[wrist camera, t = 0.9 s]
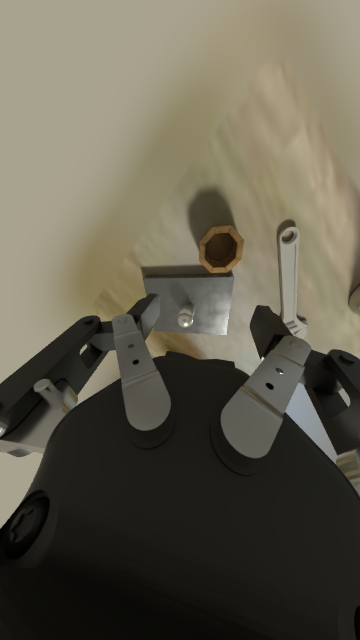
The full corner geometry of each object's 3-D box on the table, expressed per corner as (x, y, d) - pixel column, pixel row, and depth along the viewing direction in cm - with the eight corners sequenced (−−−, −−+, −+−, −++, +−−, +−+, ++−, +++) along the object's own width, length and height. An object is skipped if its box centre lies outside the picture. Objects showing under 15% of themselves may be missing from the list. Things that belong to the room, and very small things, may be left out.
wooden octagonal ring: (240, 223, 24) (246, 224, 20) (235, 264, 27) (239, 272, 23) (201, 226, 25) (199, 228, 21) (200, 265, 28) (199, 272, 24)
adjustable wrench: (275, 230, 24) (279, 230, 22) (323, 215, 22) (331, 215, 20) (271, 342, 36) (274, 347, 35) (302, 339, 34) (306, 344, 33)
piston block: (232, 273, 28) (239, 289, 22) (225, 329, 36) (228, 353, 30) (146, 275, 32) (130, 289, 25) (157, 326, 39) (146, 347, 33)
